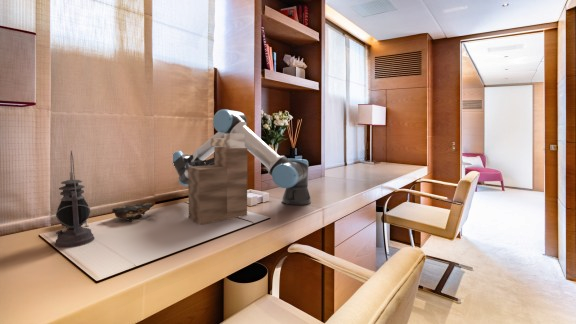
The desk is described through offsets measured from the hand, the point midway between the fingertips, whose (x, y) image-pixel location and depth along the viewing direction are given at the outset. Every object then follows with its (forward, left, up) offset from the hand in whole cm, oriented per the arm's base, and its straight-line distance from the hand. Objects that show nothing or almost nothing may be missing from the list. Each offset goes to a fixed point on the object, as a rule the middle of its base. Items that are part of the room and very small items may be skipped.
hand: (209, 152), depth 145 cm
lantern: (+47, +35, -26) cm, 65 cm away
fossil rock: (+32, +12, -26) cm, 44 cm away
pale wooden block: (-5, +14, +4) cm, 15 cm away
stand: (-1, +21, -26) cm, 33 cm away
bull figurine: (+50, +17, -26) cm, 60 cm away
